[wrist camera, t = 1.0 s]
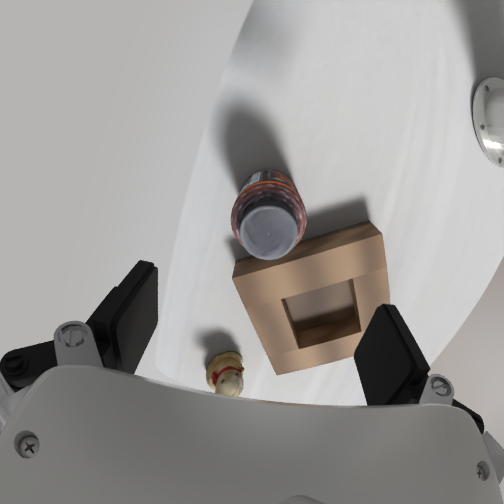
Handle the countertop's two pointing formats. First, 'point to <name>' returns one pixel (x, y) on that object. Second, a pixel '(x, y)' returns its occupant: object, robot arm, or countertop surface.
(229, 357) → the chocolate bunny
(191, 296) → the countertop surface
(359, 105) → the countertop surface
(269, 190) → the supplement bottle
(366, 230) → the socket block
